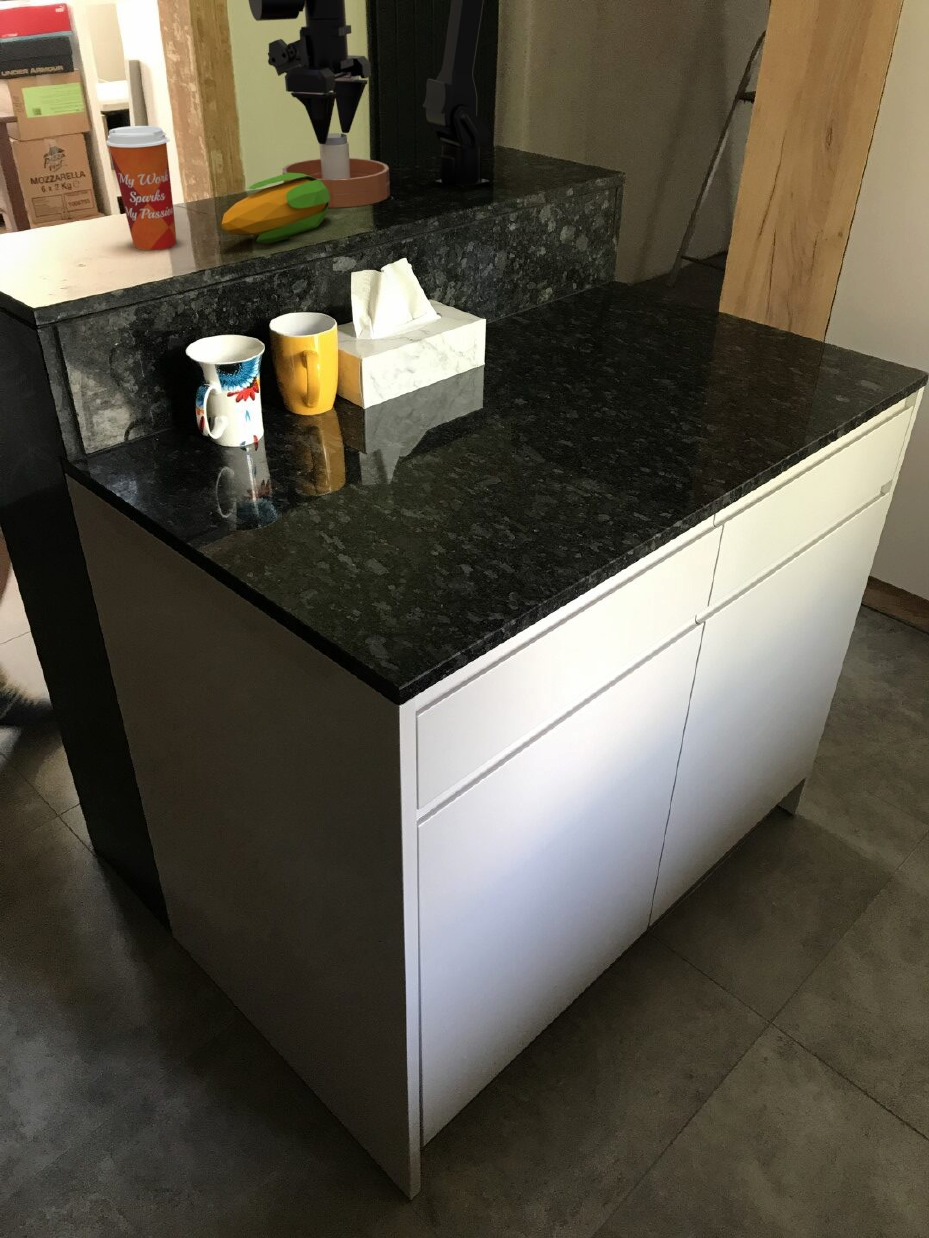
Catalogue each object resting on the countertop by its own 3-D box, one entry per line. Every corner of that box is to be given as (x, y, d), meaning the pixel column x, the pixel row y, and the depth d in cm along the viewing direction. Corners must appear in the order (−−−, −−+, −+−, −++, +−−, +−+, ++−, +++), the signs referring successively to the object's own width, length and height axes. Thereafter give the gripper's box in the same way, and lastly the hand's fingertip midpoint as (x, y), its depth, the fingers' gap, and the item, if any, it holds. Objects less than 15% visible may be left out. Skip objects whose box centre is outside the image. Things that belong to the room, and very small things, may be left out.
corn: (340, 166, 138) (240, 193, 124) (347, 224, 142) (251, 256, 129) (300, 164, 142) (198, 190, 128) (308, 220, 146) (210, 252, 132)
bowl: (342, 183, 165) (340, 153, 162) (411, 199, 156) (410, 168, 153) (264, 200, 155) (260, 169, 152) (332, 217, 146) (329, 185, 143)
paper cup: (126, 254, 130) (103, 137, 122) (125, 239, 136) (103, 126, 128) (187, 249, 132) (169, 134, 124) (183, 235, 138) (166, 123, 130)
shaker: (338, 191, 157) (334, 132, 153) (357, 195, 155) (354, 135, 150) (317, 195, 155) (312, 135, 150) (336, 200, 152) (331, 139, 148)
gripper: (299, 11, 150) (309, 125, 159) (244, 22, 136) (258, 147, 145) (369, 13, 148) (374, 128, 157) (320, 24, 133) (329, 151, 142)
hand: (334, 138), depth 150 cm, fingers open, 9 cm apart
